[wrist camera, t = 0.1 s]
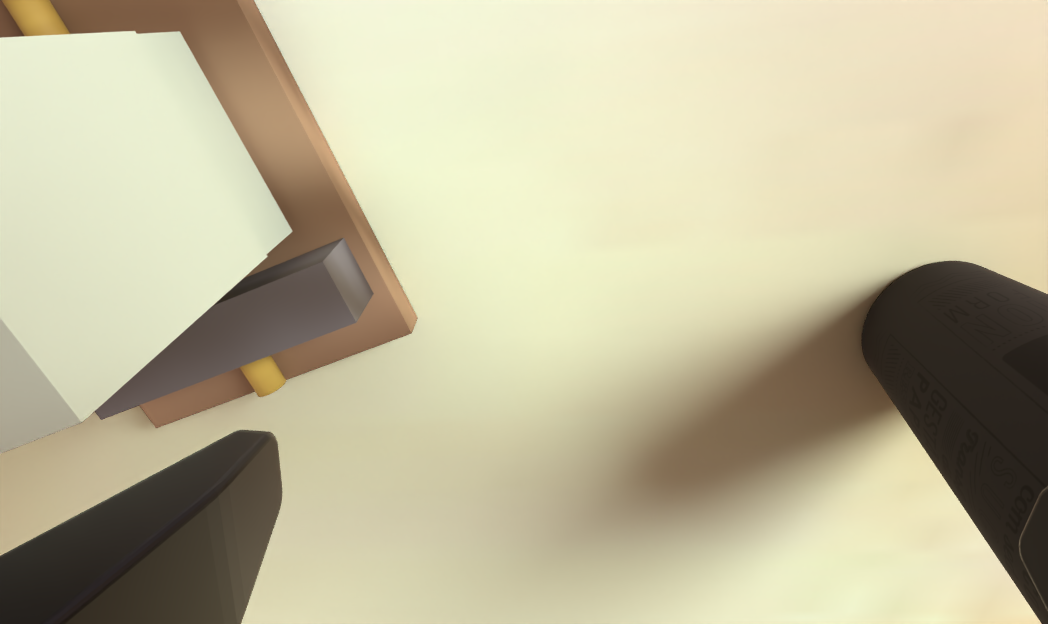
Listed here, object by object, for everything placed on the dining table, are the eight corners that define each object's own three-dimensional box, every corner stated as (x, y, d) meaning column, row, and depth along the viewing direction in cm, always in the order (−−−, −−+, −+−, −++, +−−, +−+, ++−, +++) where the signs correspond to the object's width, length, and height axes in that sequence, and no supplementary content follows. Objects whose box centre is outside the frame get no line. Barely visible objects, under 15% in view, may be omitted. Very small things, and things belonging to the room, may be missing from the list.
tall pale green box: (298, 228, 20) (81, 422, 11) (107, 308, 22) (-240, 545, 12) (186, 28, 18) (-211, 47, 9) (-20, 129, 19) (-566, 244, 10)
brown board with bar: (417, 317, 23) (382, 404, 18) (173, 409, 25) (78, 512, 20) (-25, -539, 15) (-314, -819, 10) (-342, -313, 17) (-727, -454, 12)
